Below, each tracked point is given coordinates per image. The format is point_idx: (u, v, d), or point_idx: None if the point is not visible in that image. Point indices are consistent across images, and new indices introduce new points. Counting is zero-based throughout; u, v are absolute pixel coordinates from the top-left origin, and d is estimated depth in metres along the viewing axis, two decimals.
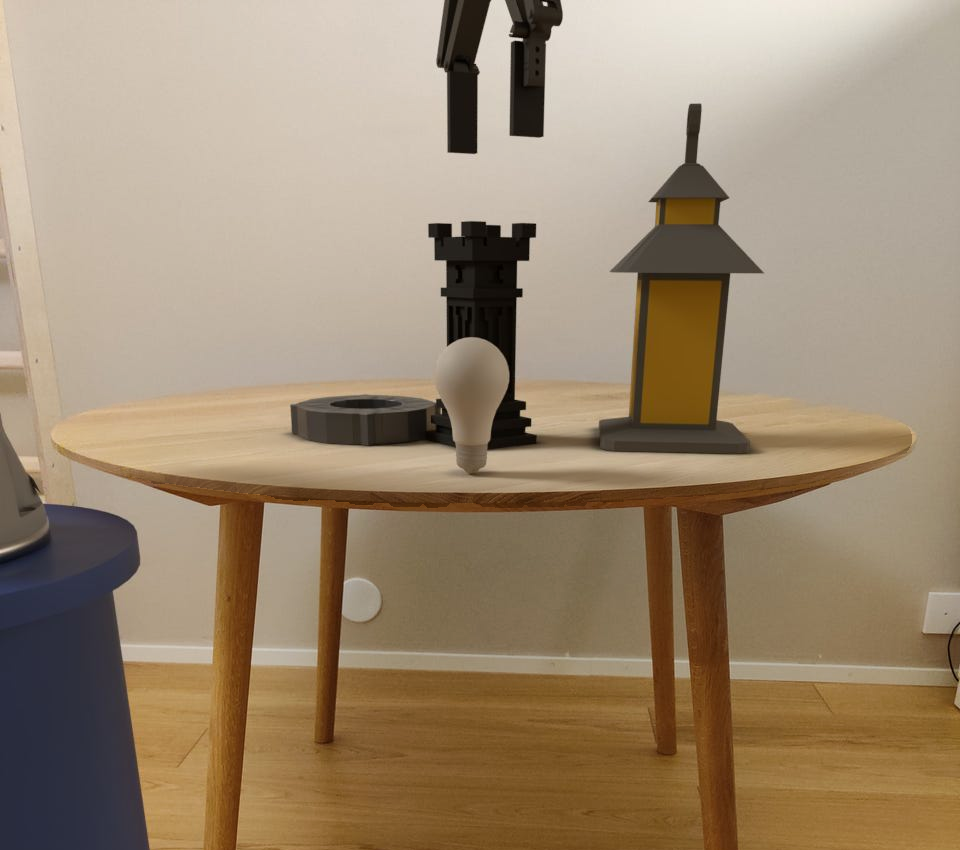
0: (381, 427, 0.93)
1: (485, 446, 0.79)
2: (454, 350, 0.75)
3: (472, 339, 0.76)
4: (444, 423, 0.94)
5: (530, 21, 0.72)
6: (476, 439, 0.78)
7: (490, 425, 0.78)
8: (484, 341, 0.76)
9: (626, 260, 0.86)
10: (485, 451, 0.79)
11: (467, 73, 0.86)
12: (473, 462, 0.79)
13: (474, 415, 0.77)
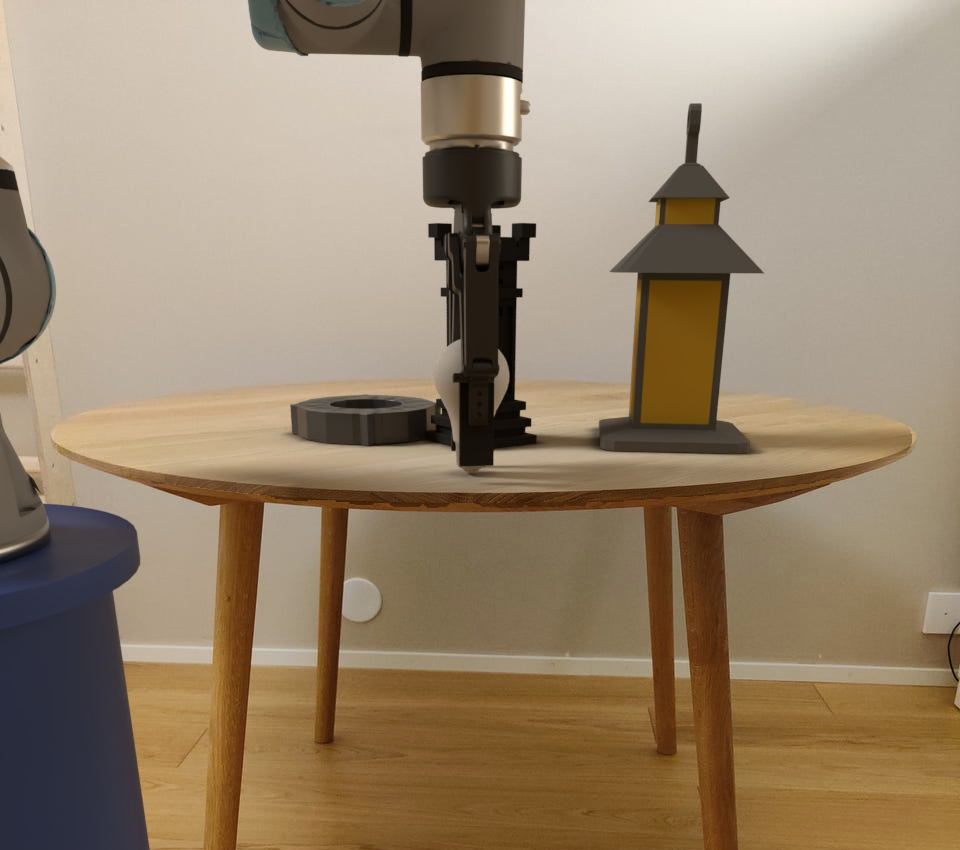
0: (381, 427, 0.93)
1: None
2: (454, 350, 0.75)
3: None
4: (444, 423, 0.94)
5: (465, 374, 0.72)
6: None
7: None
8: None
9: (626, 260, 0.86)
10: None
11: None
12: None
13: None
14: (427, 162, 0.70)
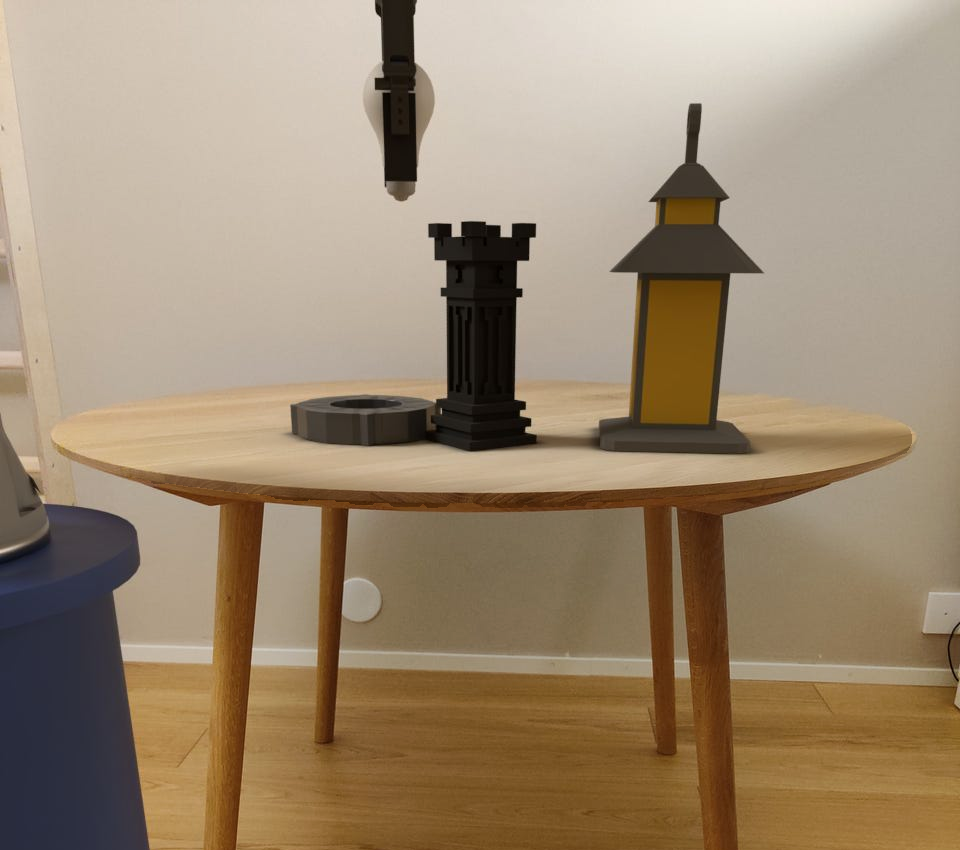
0: (381, 427, 0.93)
1: None
2: (379, 66, 0.79)
3: None
4: (444, 423, 0.94)
5: (384, 75, 0.75)
6: None
7: (417, 148, 0.82)
8: None
9: (626, 260, 0.86)
10: None
11: None
12: (401, 186, 0.82)
13: None
14: None
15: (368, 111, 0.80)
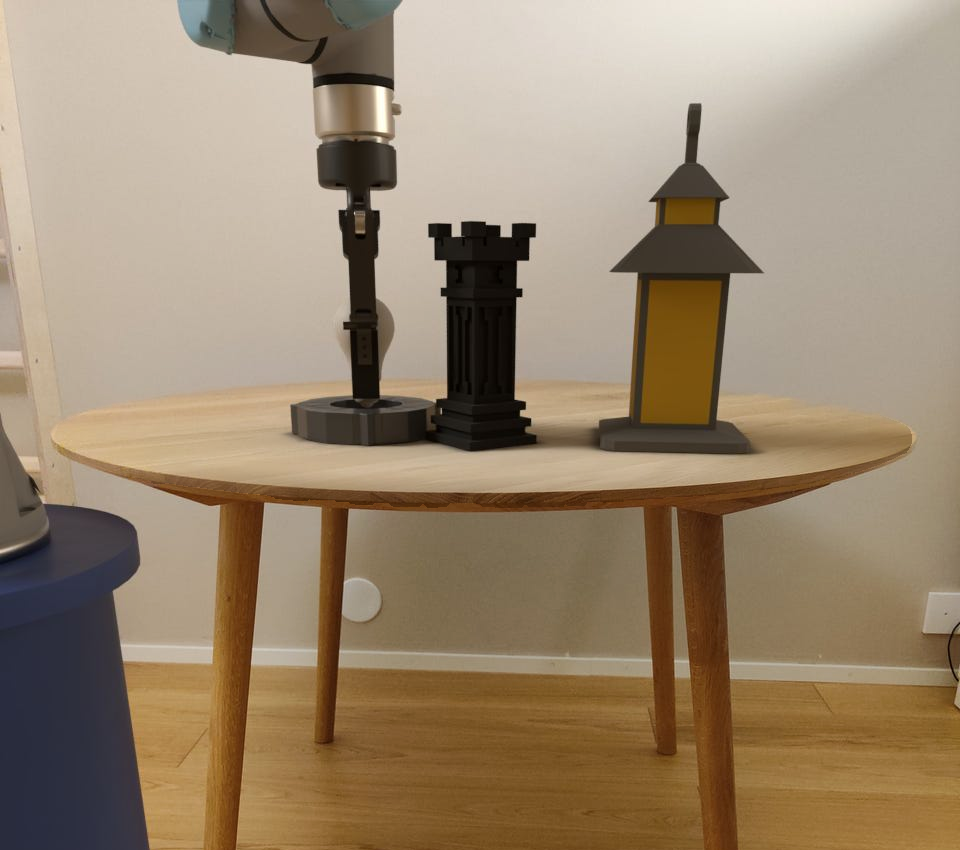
0: (381, 427, 0.93)
1: None
2: (347, 305, 0.94)
3: None
4: (444, 423, 0.94)
5: None
6: None
7: (380, 367, 0.97)
8: None
9: (626, 260, 0.86)
10: None
11: None
12: None
13: None
14: (319, 153, 0.89)
15: (338, 339, 0.95)
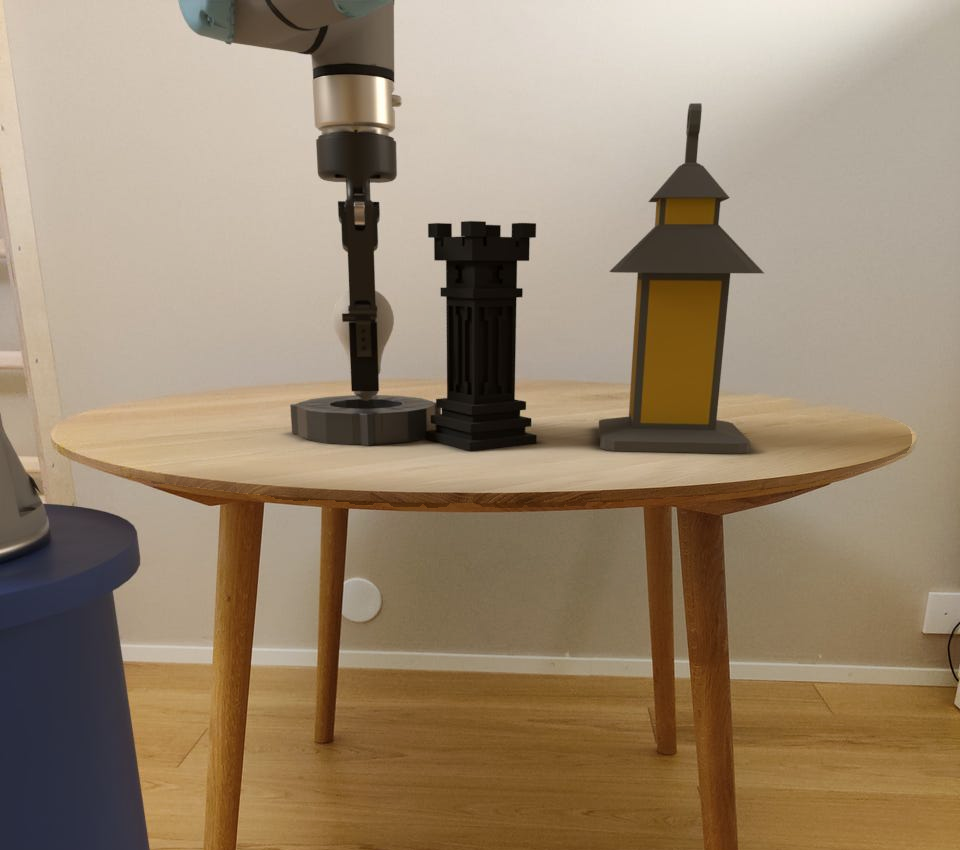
0: (381, 427, 0.93)
1: None
2: (346, 297, 0.93)
3: None
4: (444, 423, 0.94)
5: None
6: None
7: (379, 359, 0.96)
8: None
9: (626, 260, 0.86)
10: None
11: None
12: None
13: None
14: (318, 144, 0.88)
15: (337, 331, 0.95)
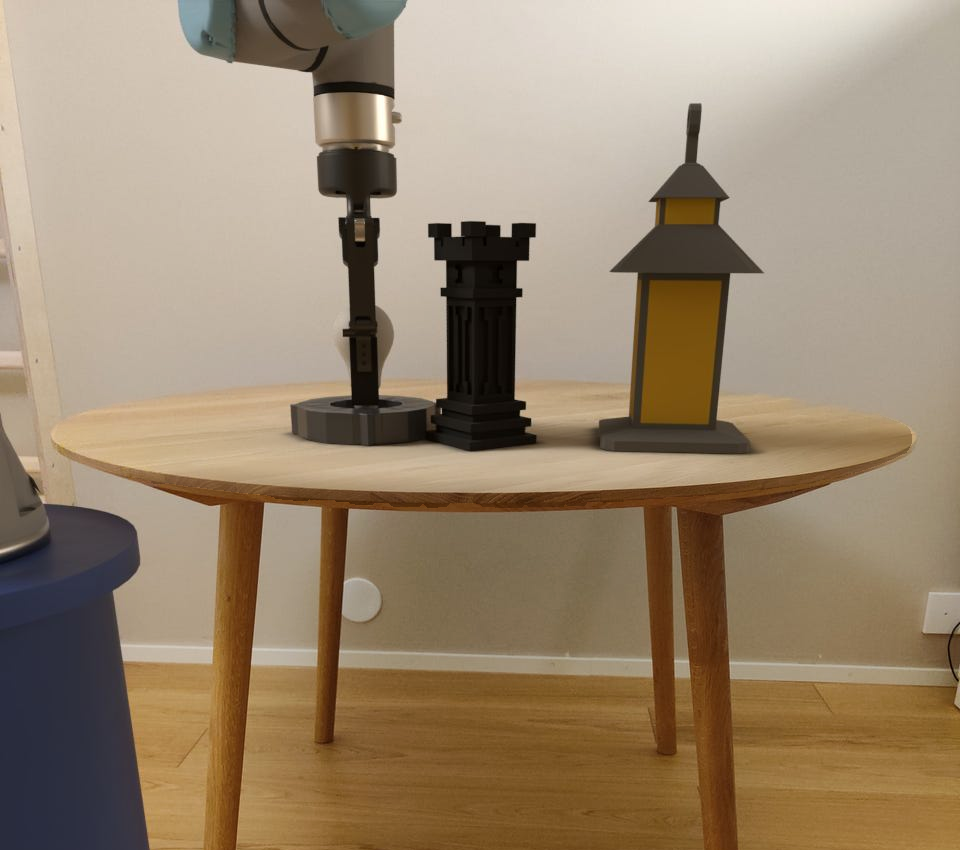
0: (381, 427, 0.93)
1: None
2: (347, 312, 0.94)
3: None
4: (444, 423, 0.94)
5: None
6: None
7: (379, 374, 0.97)
8: None
9: (626, 260, 0.86)
10: None
11: None
12: None
13: None
14: (319, 161, 0.89)
15: (338, 346, 0.95)
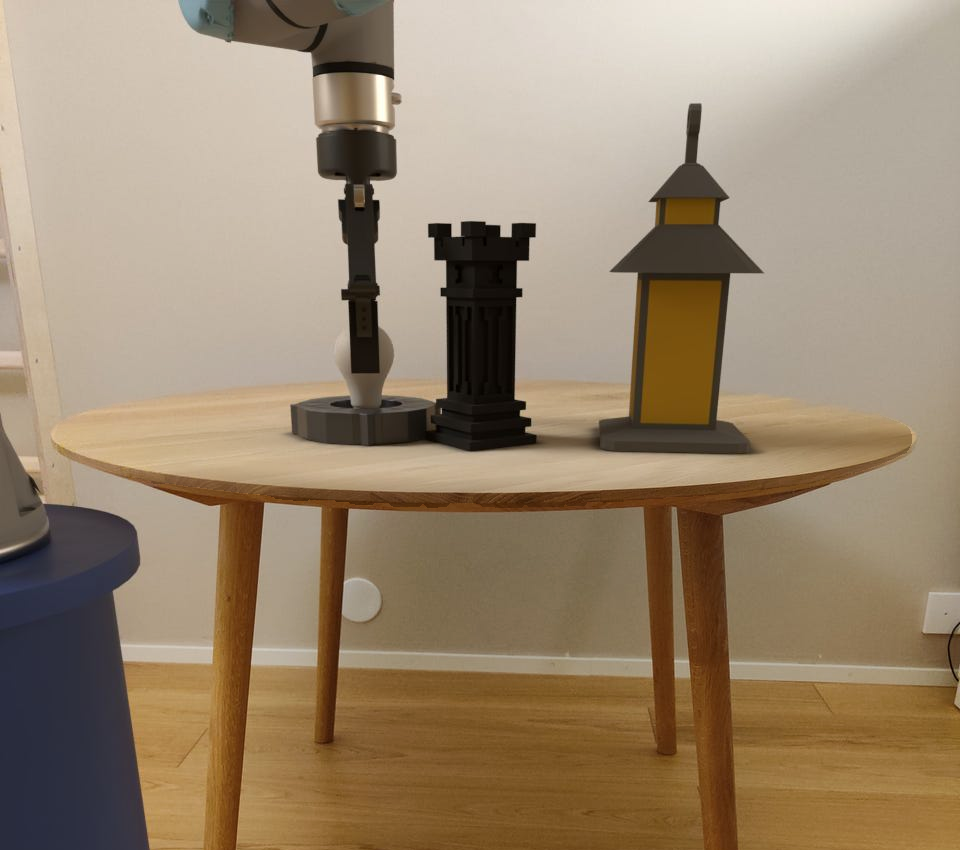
0: (381, 427, 0.93)
1: None
2: (347, 332, 0.95)
3: None
4: (444, 423, 0.94)
5: (349, 292, 0.86)
6: (368, 403, 0.98)
7: (380, 392, 0.98)
8: None
9: (626, 260, 0.86)
10: None
11: None
12: None
13: (365, 383, 0.97)
14: (318, 142, 0.88)
15: (339, 365, 0.97)
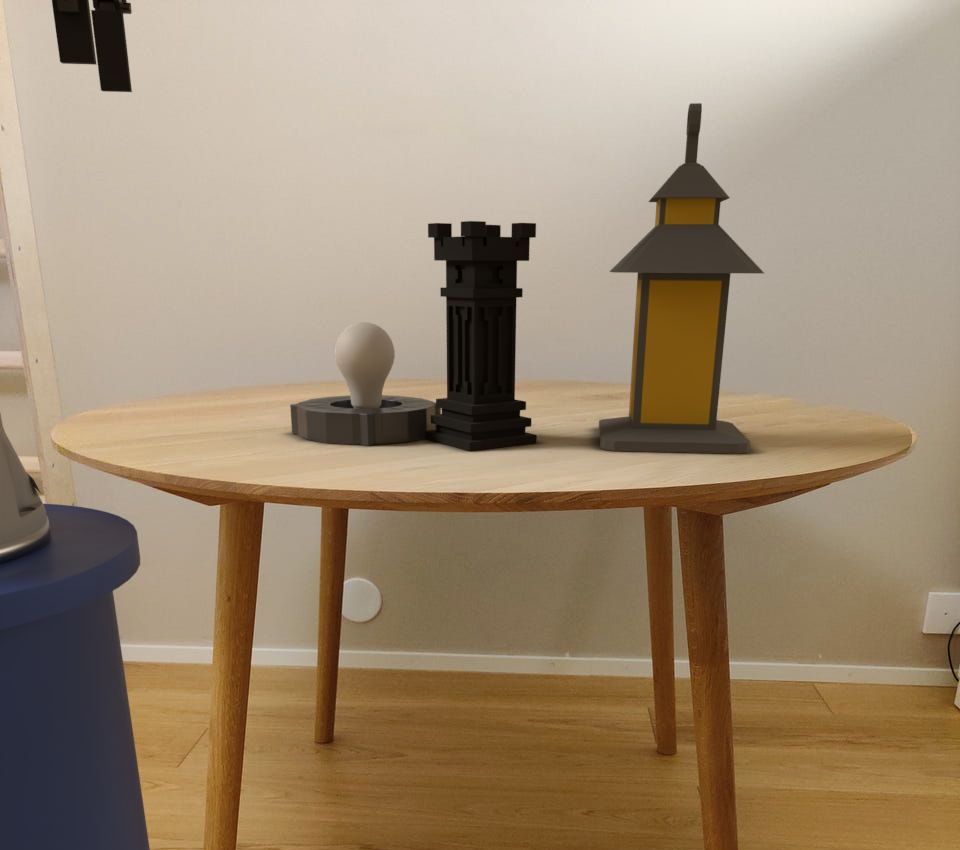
0: (381, 427, 0.93)
1: None
2: (348, 332, 0.95)
3: (363, 323, 0.96)
4: (444, 423, 0.94)
5: None
6: (368, 403, 0.98)
7: (380, 392, 0.98)
8: (373, 325, 0.96)
9: (626, 260, 0.86)
10: None
11: (110, 11, 0.89)
12: None
13: (365, 384, 0.97)
14: None
15: (339, 365, 0.97)
